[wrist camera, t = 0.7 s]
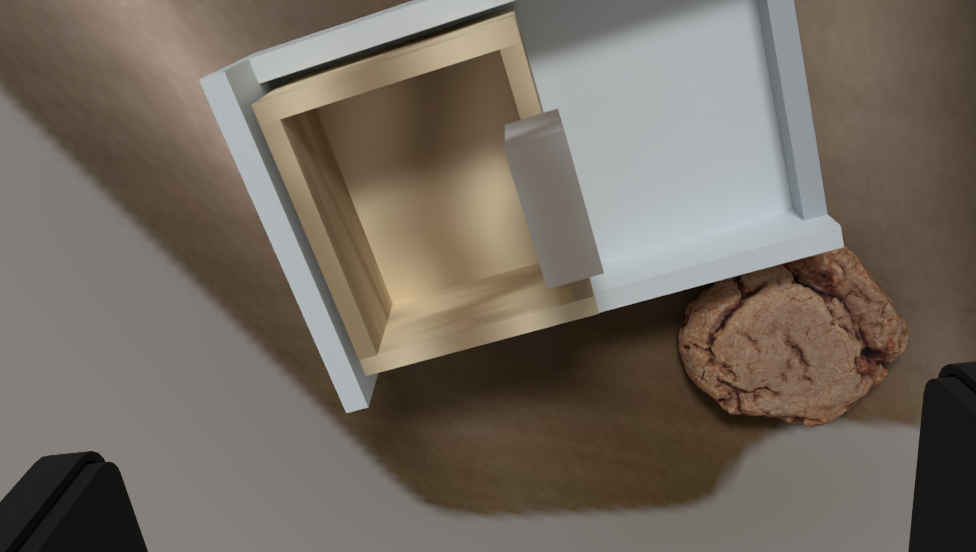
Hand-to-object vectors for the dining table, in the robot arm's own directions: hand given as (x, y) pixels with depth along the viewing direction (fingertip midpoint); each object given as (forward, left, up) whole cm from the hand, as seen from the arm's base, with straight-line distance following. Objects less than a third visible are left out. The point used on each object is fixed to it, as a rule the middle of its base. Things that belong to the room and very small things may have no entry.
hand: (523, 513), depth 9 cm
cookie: (-10, +16, -29) cm, 34 cm away
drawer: (+4, +3, -27) cm, 28 cm away
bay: (-1, +3, -29) cm, 29 cm away
